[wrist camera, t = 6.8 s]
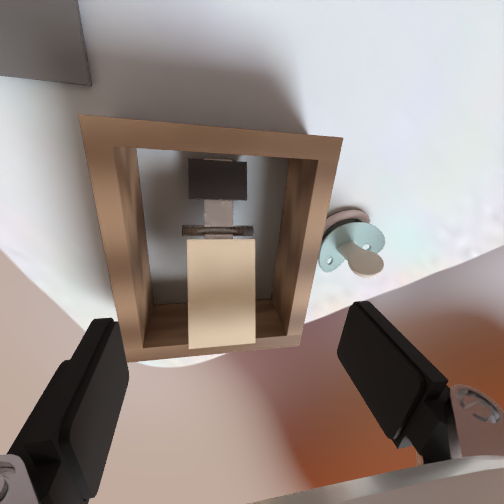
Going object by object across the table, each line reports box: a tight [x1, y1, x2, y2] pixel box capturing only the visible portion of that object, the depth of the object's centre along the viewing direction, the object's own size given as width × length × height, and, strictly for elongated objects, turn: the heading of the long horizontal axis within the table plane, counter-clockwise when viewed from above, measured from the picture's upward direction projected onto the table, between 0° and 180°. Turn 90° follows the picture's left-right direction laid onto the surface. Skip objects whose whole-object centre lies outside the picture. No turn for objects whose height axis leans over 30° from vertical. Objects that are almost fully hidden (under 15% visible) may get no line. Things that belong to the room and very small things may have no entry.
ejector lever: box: [182, 158, 254, 239], centre depth 22 cm, size 15×6×1 cm, turn 175°
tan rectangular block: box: [187, 239, 255, 349], centre depth 20 cm, size 8×5×3 cm, turn 175°
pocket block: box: [78, 115, 343, 362], centre depth 22 cm, size 19×16×6 cm
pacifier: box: [318, 210, 385, 278], centre depth 25 cm, size 7×6×6 cm
